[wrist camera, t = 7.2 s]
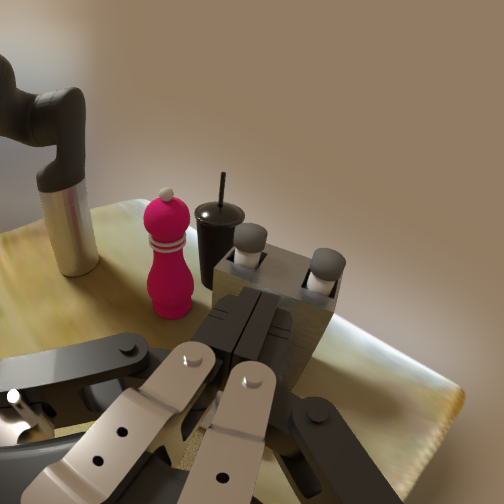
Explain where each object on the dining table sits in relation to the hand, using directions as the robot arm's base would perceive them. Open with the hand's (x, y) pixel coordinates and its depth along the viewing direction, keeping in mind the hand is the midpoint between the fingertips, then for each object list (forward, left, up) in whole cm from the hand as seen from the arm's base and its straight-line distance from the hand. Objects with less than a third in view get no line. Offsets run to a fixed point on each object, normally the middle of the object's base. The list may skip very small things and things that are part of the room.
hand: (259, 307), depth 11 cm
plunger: (-6, +14, -12) cm, 19 cm away
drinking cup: (-15, +25, -25) cm, 38 cm away
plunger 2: (+2, +14, -12) cm, 19 cm away
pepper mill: (-18, +16, -25) cm, 34 cm away
